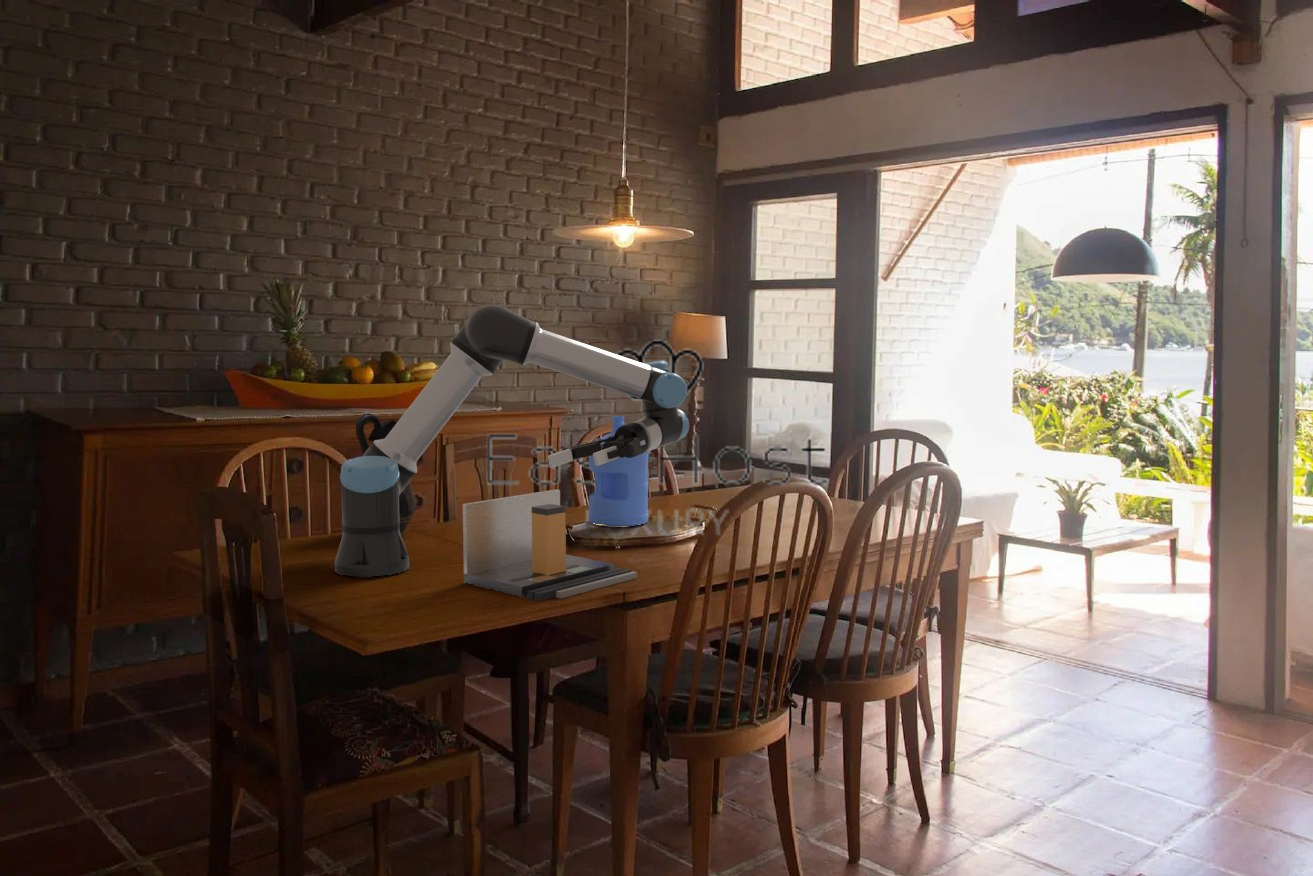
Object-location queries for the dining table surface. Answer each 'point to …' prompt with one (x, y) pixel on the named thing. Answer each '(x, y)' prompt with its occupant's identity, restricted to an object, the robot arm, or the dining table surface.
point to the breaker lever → (548, 539)
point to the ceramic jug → (377, 433)
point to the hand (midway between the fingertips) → (572, 460)
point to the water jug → (620, 488)
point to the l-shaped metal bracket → (512, 546)
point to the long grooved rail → (582, 584)
